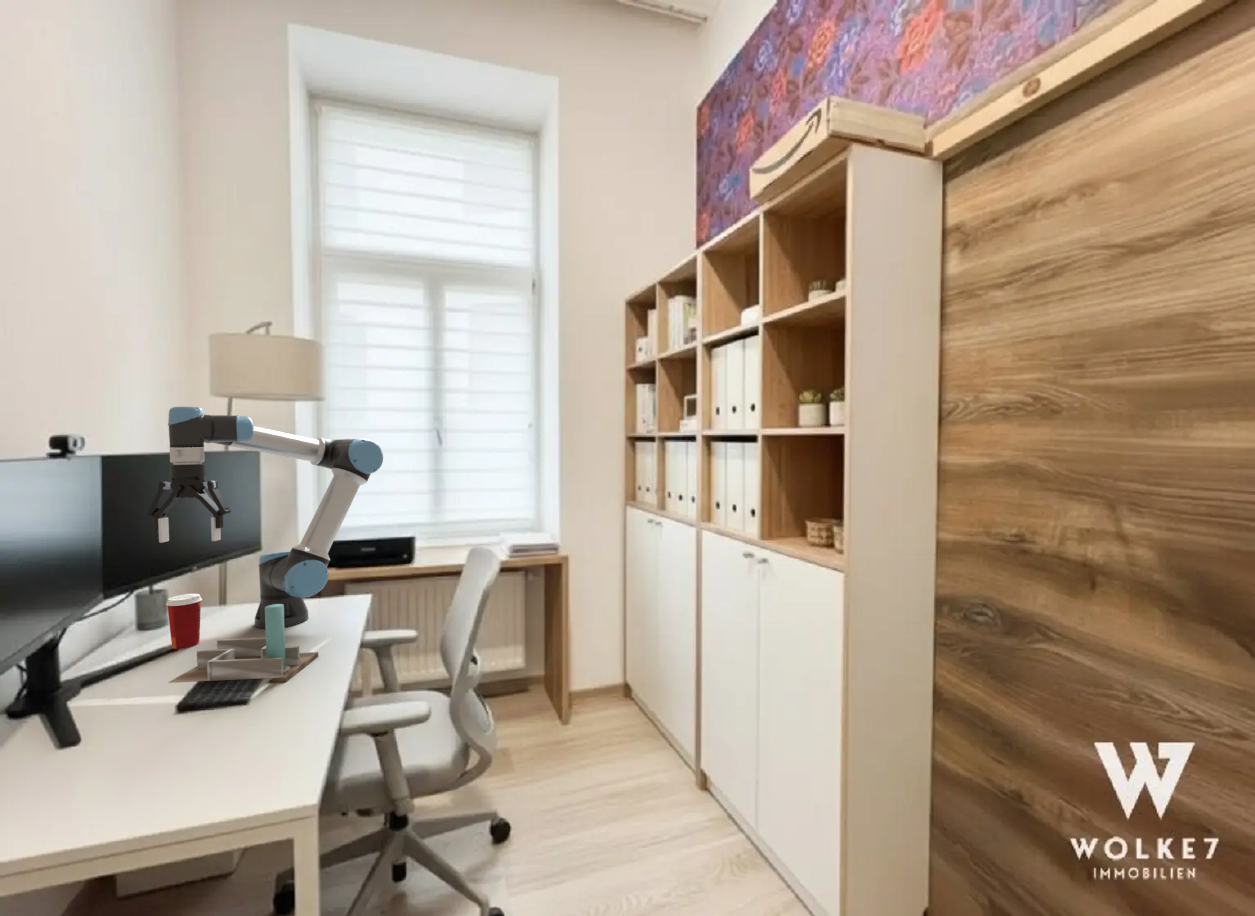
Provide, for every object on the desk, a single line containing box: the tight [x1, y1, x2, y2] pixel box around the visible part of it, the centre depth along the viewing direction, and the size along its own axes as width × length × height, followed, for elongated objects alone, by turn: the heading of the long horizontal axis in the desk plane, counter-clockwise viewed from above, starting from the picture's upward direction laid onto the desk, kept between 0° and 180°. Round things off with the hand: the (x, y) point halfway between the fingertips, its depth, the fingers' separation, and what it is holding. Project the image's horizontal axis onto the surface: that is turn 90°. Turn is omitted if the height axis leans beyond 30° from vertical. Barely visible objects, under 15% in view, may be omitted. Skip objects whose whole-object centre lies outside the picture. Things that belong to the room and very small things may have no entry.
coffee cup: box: [165, 593, 203, 650], centre depth 164 cm, size 8×8×15 cm
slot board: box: [168, 637, 319, 684], centre depth 147 cm, size 17×27×6 cm, turn 94°
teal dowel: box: [264, 604, 286, 670], centre depth 144 cm, size 4×4×16 cm
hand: (190, 541), depth 158 cm, fingers open, 13 cm apart
